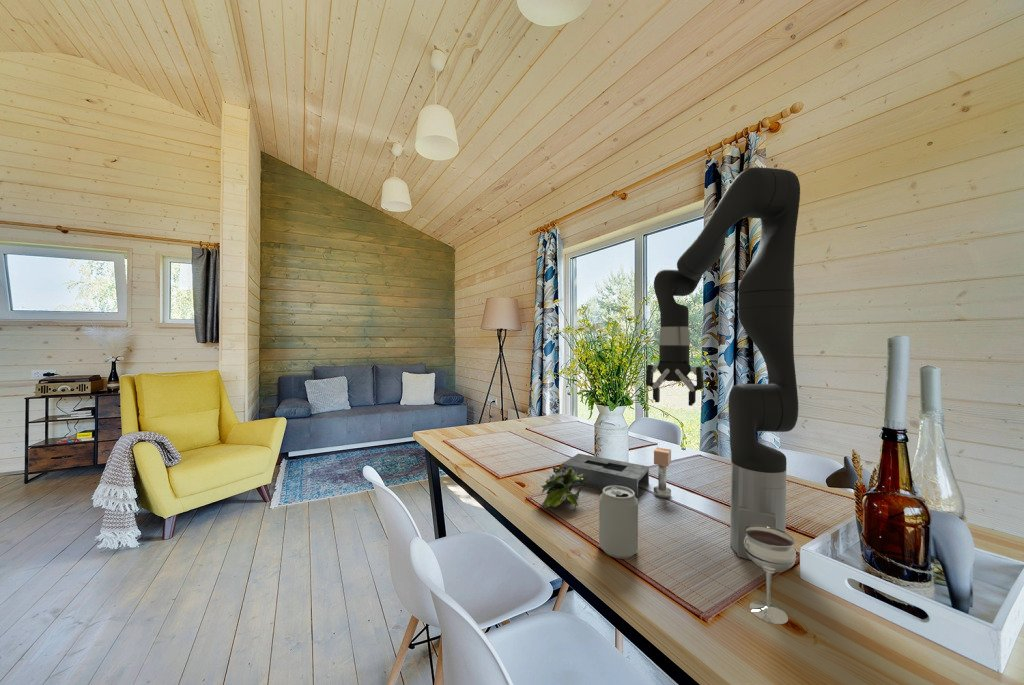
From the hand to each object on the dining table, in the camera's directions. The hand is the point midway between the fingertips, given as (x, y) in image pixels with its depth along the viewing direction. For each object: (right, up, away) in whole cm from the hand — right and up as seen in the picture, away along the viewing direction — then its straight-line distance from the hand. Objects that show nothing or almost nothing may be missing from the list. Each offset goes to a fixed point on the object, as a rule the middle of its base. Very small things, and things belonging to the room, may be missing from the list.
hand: (673, 403), depth 104 cm
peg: (-3, -25, -1) cm, 25 cm away
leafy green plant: (-30, -25, -7) cm, 40 cm away
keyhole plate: (-17, -24, +8) cm, 31 cm away
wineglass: (-4, -25, -45) cm, 51 cm away
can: (-23, -25, -27) cm, 43 cm away
